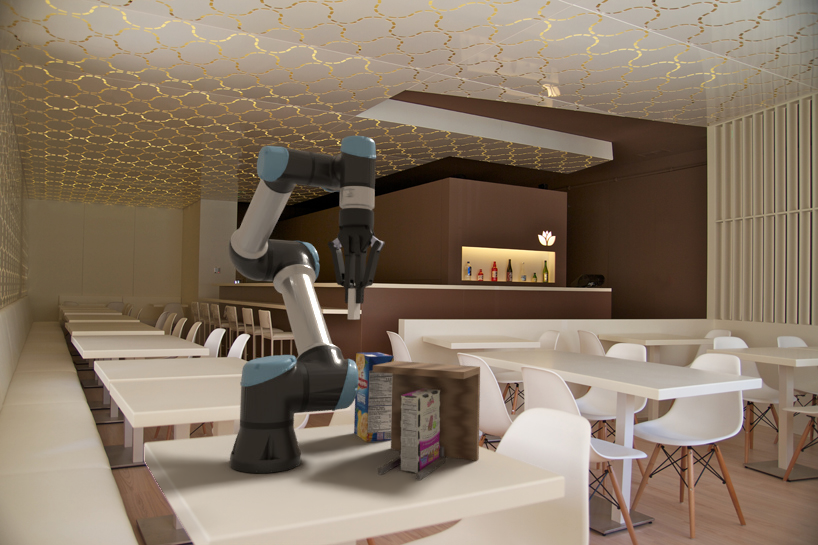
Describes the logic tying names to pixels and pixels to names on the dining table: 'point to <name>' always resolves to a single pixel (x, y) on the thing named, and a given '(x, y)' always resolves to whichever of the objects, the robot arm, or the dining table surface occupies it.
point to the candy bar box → (419, 429)
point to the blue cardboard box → (373, 398)
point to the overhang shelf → (455, 407)
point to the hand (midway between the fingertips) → (353, 319)
